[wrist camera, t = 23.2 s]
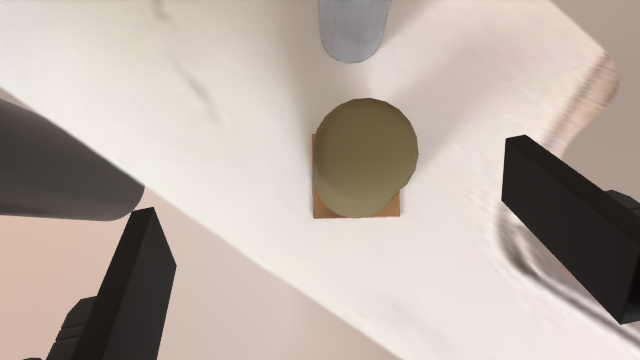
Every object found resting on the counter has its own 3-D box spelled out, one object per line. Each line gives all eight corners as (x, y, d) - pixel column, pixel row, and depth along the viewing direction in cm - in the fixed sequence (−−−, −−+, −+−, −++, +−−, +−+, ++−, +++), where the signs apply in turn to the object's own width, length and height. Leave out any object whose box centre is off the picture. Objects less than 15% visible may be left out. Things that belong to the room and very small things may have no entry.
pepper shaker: (332, 120, 32) (332, 61, 21) (411, 152, 32) (453, 109, 21) (299, 198, 31) (280, 178, 20) (379, 232, 31) (404, 231, 20)
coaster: (313, 218, 32) (313, 218, 31) (312, 135, 32) (311, 134, 32) (399, 216, 31) (400, 216, 31) (395, 133, 32) (396, 131, 32)
